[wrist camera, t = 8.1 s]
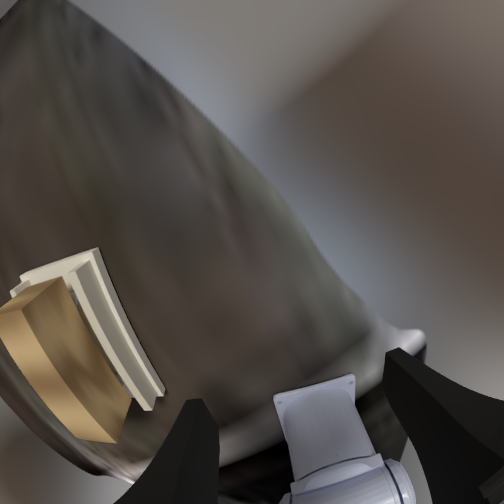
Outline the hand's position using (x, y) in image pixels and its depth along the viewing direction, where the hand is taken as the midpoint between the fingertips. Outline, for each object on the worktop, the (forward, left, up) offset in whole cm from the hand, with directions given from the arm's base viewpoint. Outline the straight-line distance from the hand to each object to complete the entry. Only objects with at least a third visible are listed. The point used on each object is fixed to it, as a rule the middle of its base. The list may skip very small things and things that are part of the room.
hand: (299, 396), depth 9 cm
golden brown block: (-1, +16, -8) cm, 18 cm away
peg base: (-1, +16, -10) cm, 19 cm away
